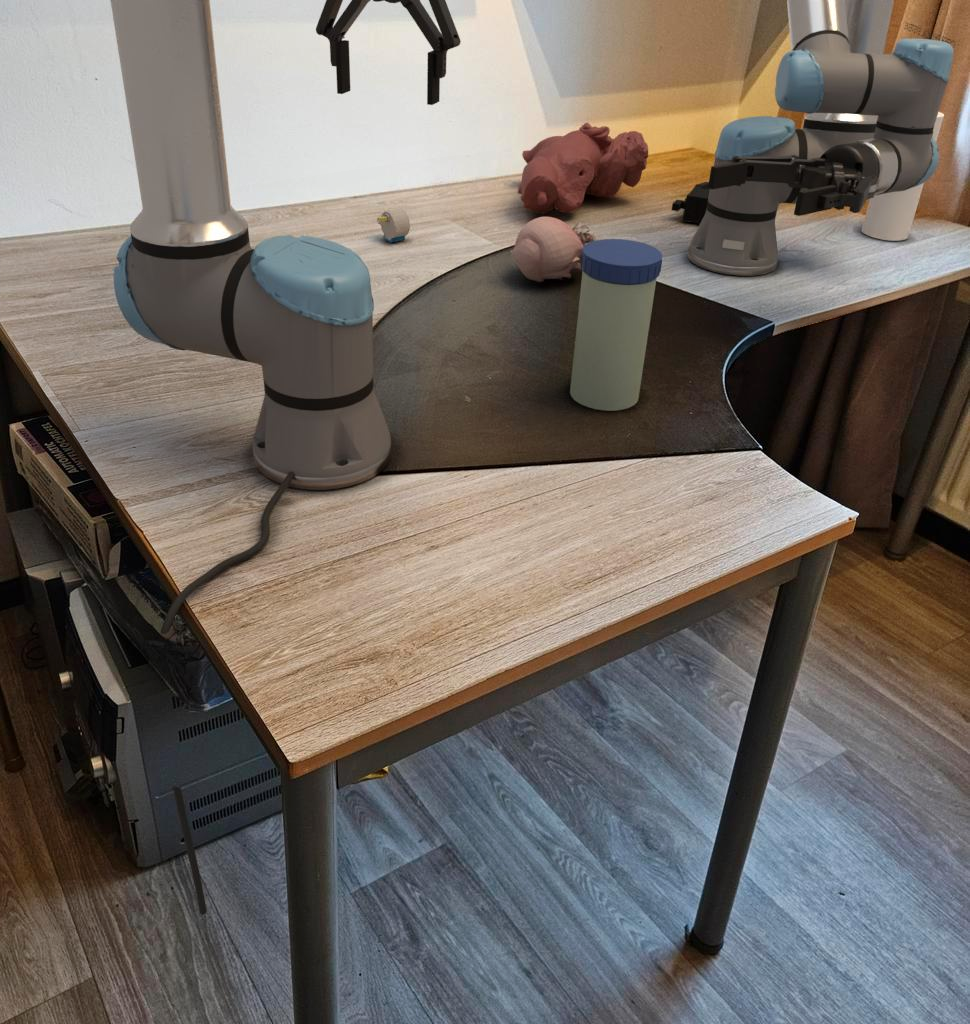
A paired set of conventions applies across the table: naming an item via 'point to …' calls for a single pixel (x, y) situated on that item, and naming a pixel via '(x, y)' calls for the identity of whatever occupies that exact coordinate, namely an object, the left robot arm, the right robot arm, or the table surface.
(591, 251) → the lid
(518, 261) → the toy
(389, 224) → the electric motor
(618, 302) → the jar
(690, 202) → the toy
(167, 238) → the left robot arm
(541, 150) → the reddish brown figurine
